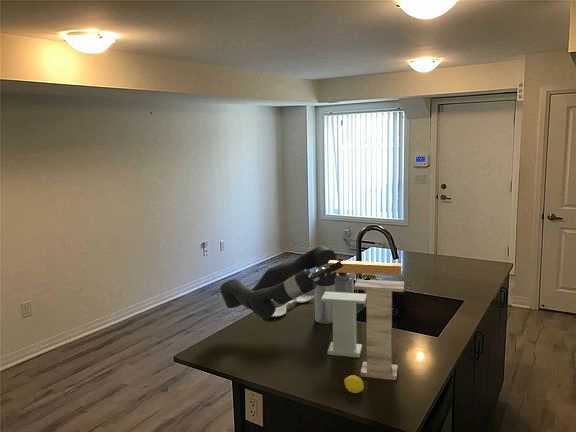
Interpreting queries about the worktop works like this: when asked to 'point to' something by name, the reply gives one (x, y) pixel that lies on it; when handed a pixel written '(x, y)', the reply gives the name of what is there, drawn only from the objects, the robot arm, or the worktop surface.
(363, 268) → the wooden block
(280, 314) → the spoon
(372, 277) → the plant pot
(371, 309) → the tall pedestal
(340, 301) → the white i-beam column
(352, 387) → the lemon
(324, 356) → the worktop surface
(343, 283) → the perfume bottle
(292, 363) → the worktop surface
